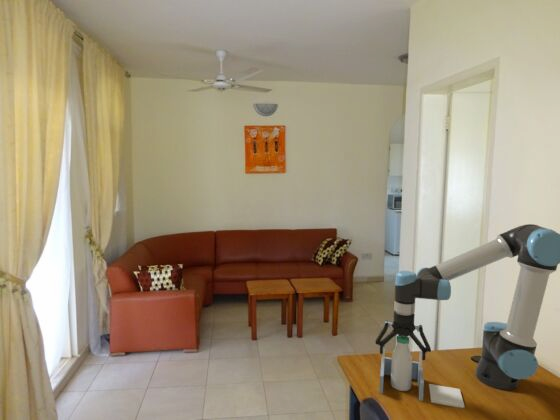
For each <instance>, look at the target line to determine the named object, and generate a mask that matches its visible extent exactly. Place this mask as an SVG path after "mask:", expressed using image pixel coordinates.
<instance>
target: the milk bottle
mask: <svg viewBox="0 0 560 420" xmlns="http://www.w3.org/2000/svg"><path fill="white" fill-rule="evenodd" d="M409 345H410V336H407V337H406V336H399V335H398V334H397V335H396V346H395V347H394V349H393V351H392V355H391V358H392V362H391V375H390V386H391V387H392V388H394V390H396V391H400V392H407V391H409V390H411V388H412V380H413V379H412V361H413V355H412V353H411V351H410V347H409Z"/></svg>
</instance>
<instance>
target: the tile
mask: <svg viewBox="0 0 560 420" xmlns="http://www.w3.org/2000/svg"><path fill="white" fill-rule="evenodd" d="M428 389H429V396H430V397H429V399H430V402H431V404H439V405H442V406H443V405H444V406H450V407H455V408H460V409H465V403H464V400H463V396H462V392H461V389H460V388H456V387H451V386H445V385H444V386H443V385H438V384H431V383H428Z"/></svg>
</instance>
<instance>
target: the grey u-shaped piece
mask: <svg viewBox="0 0 560 420" xmlns="http://www.w3.org/2000/svg"><path fill="white" fill-rule="evenodd" d="M380 361H381V363H380V374H379V393H378V394H381V395H383V394H384V383H385V381H384V380H385V376H391V362H392V357H388V356H385V362H384V363H382V361H383V356H381V360H380ZM423 374H424V371H423V368H422V369H419V361H414V360H412V380H416V381H417V388H418V389H417V390H418V399H419V401H420V402H423V401H424V391H425V390H424V388H425V383H424V380H425V379H424V375H423Z"/></svg>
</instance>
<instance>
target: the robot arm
mask: <svg viewBox="0 0 560 420" xmlns="http://www.w3.org/2000/svg"><path fill="white" fill-rule="evenodd" d="M517 256H518V257H517ZM514 257H517V260H516V262H517V264H518V265H519V267H520V268H519V273H518V277H517V281H516V285H515V290H514V294H513V297H512V302H511V306H510V310H509V312H508V313H509V314H508V318H507V322H505V323H504V322H501V321H500V322H499V321H488V322H485V323H484V325H483V329H482V331H483V333H482V347H481V357H480V360H479V361H478V363H477V365H476V367H475V377H476V378H477V380H479V381H480V382H481V383H482V384H485V385H487V386H489V387H491V388H495V389H499V390H504V391H505V390H506V391H507V390H508V391H509V390H510V391H511V390H514V389H517V388H518V387H519V383H520V380H526V379H528V378H531V377H532V376H533V375H535V374H536V372H537V370H538V368H539V363H538V359H537V357H536V356H535V354H536V350H537V345H538V342H537V341H536V339H534V335H535V331H536V327H537V325H538V324H537V323H538V320H539V316H540V312H541V308H542V305H543V301H544V296H545V293H546V289H547V286H548V281H549V277H550V275H551V274H553V273H555V272H557V268H558V265H560V233H558V232H557V231H555V230H553V229H551V228H546V227H545V226H544V227H543V226H540V225H537V224H532V223H531V224H530V223H529V224H522V225H519V226H517V227H514V228H511V229H510V230H507V231H505V232H502V233H500V234H498V235H496V239H494V240H490V241H489V242H486V243H484V244H482V245H480V246H478V247H475V248H472V249H470V250H468V251H466V252H464V253H461V254H459V255H456V256H454V257H452V258H450V259H447V260H445V261H443V262H441V263H439V264H436V265H433V266H431V267H422V268H420V269H418V270H417V272H414V271H409V270H399V271H397V272H396V274H395V282H394V302H393V303H394V305H393V321H392V322H390V321H389V320H385V321H384V325H383V328H382V329H381V330H380V332H379V334H378V335H377V337H376V339H375V342H374V343H375V345H378V346H379V354H380V355H382V357H383V361H382V360H381V361H382V363H384V362H385V357H386V344H388V342H389V341H391V340H392V339H393V338H394V337H397V336H398V335H399V336H406V337H409V338H410V339H412V341H414V343H415V345H417V347H418V348H419V361H418V362H419V369H422V370H423V361H426V353H430V352H431V346H430V344H429V341H428V339H427V336H426V335H425V333H424V331H423V330H424V329H423V325H422V324H419V325H415V315H416V314H415V311H416V299H422V300H423V299H424V300H433V301H448V300H450V298H451V295H452V287H451V282H450V281H452V280H455V279H456V278H460V277H462V276H464V275H466V274H469V273H471V272H473V271H477V270H479V269H480V268H483V267H486V266H488V265H491V264H494V263H495V262H499V261H500V260H502V259H505V258H510V259H512V258H514ZM390 328H392V331H390V333H388V334H387V335H386V336H385V334H386V333H387V331H388V329H390ZM415 330H416V331H417V332H418V333H419V335H420V337H421V340H422V342H423V343H424V344H423V343H422V342H421V341H420V339H419V338H418V337H417V336H416V334H415V332H414V331H415ZM384 336H385V337H384Z"/></svg>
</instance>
